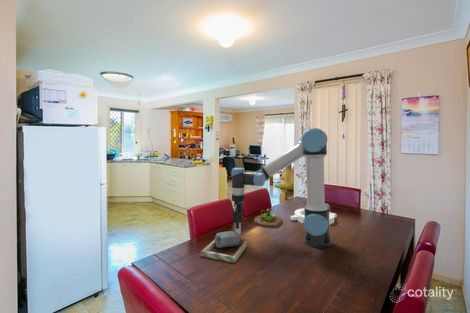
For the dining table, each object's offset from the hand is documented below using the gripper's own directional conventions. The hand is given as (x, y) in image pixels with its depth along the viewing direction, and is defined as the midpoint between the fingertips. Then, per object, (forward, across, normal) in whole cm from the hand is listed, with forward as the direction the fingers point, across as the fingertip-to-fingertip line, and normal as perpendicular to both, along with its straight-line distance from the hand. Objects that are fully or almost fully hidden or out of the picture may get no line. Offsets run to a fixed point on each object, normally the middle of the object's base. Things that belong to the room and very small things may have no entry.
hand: (238, 233), depth 146 cm
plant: (+3, -33, +11) cm, 35 cm away
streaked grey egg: (+3, +13, -2) cm, 14 cm away
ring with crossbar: (+4, -53, +41) cm, 67 cm away
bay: (+3, +18, 0) cm, 18 cm away
